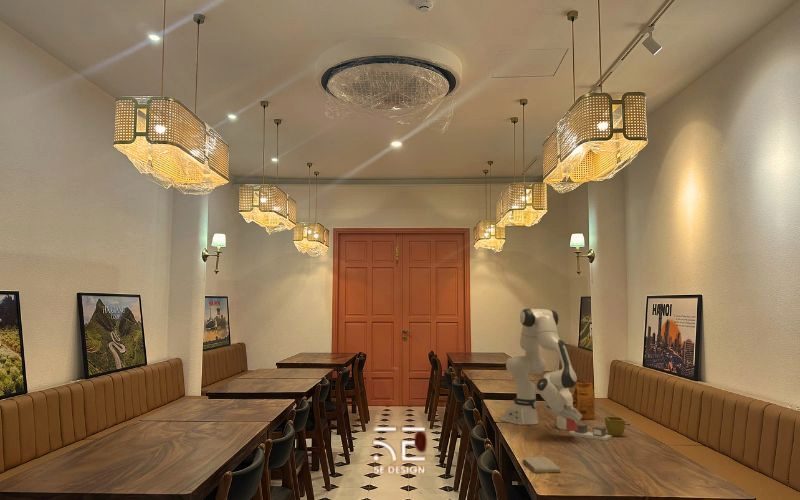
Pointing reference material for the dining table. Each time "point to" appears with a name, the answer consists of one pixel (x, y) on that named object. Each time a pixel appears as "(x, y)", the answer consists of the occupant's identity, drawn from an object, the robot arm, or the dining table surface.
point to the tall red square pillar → (571, 425)
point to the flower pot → (615, 425)
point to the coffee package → (584, 400)
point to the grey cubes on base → (597, 432)
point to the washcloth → (540, 464)
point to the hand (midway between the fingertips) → (572, 421)
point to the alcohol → (568, 396)
